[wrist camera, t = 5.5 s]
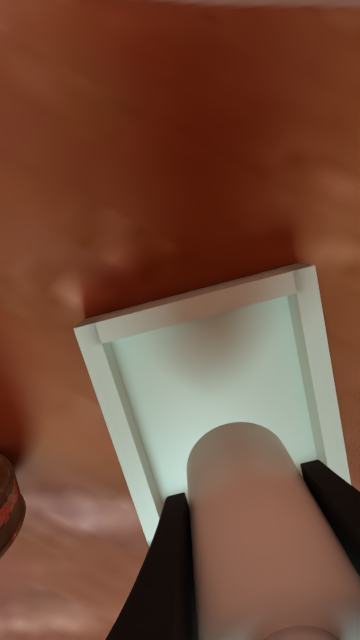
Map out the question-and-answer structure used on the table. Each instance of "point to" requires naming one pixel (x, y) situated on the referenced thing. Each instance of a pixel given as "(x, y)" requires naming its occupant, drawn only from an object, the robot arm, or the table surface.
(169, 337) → the trough tray
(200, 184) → the table surface
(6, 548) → the tin
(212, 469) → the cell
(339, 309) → the table surface
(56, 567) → the table surface
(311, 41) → the table surface
